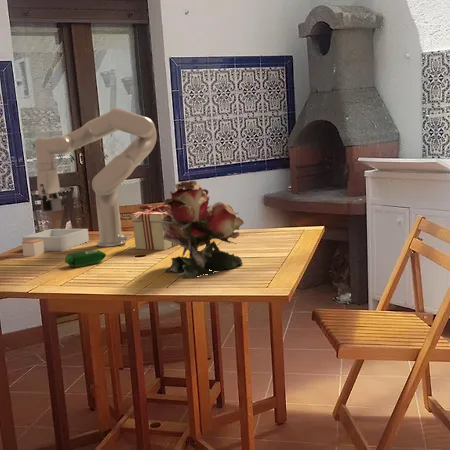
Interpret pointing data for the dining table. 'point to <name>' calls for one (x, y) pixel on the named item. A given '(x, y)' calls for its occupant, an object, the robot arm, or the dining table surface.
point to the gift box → (150, 228)
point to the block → (53, 204)
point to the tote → (60, 238)
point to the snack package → (84, 258)
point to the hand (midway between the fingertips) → (51, 209)
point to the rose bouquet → (199, 230)
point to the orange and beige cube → (33, 247)
